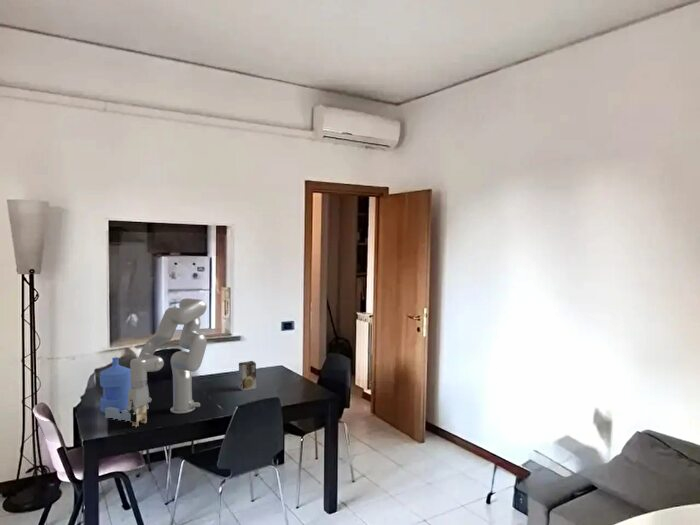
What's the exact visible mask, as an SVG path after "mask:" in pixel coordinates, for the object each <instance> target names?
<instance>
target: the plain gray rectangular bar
mask: <svg viewBox="0 0 700 525" xmlns="http://www.w3.org/2000/svg"><path fill="white" fill-rule="evenodd" d="M108 418H113V419H112V420H115V419H118V420H117V421H121V420H125V421H124V422H127V421H130V422H129V423H132V422H131V414H130V413H129V412H128V411H127V410H126V409H125V410H123V411H122V412H121V413H119V408H113V407H107V408H105V413H104V419H108Z"/></svg>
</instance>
